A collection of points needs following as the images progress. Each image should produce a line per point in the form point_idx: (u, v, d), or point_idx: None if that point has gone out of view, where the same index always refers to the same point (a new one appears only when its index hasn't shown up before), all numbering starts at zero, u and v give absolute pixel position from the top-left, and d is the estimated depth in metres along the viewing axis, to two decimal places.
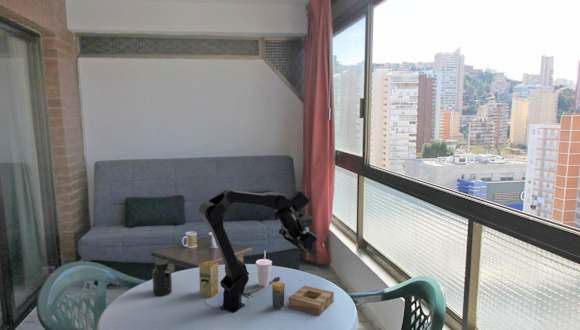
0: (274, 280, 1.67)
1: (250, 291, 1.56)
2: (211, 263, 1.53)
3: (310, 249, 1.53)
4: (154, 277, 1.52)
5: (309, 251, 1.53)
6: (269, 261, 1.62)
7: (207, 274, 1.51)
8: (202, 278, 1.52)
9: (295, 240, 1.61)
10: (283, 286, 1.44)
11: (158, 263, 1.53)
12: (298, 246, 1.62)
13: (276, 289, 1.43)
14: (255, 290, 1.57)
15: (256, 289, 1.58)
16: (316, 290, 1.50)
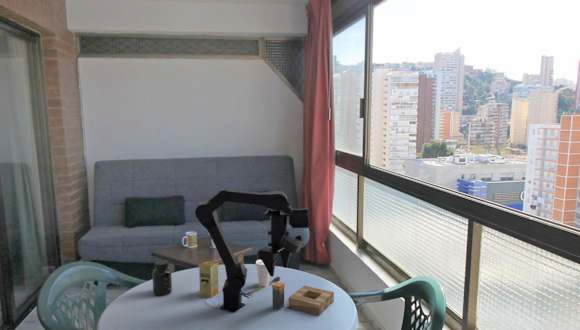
0: (274, 280, 1.67)
1: (250, 291, 1.56)
2: (211, 263, 1.53)
3: (269, 267, 1.38)
4: (154, 277, 1.52)
5: (267, 267, 1.38)
6: None
7: (207, 274, 1.51)
8: (202, 278, 1.52)
9: (285, 256, 1.47)
10: (283, 286, 1.44)
11: (158, 263, 1.53)
12: (284, 264, 1.47)
13: (276, 289, 1.43)
14: (255, 290, 1.57)
15: (256, 289, 1.58)
16: (316, 290, 1.50)
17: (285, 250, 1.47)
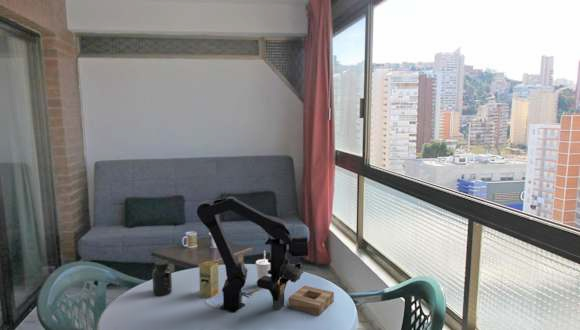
0: None
1: (251, 291, 1.57)
2: (211, 263, 1.53)
3: (273, 292, 1.42)
4: (154, 277, 1.52)
5: (271, 292, 1.42)
6: None
7: (208, 274, 1.51)
8: (202, 278, 1.52)
9: None
10: (283, 286, 1.44)
11: (158, 263, 1.53)
12: None
13: None
14: (255, 290, 1.58)
15: (256, 289, 1.58)
16: (316, 290, 1.50)
17: (281, 280, 1.46)
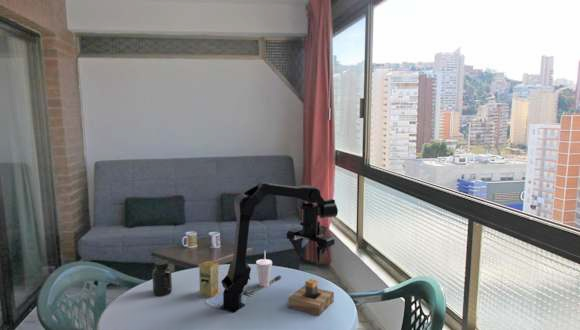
0: (275, 279, 1.68)
1: (252, 290, 1.57)
2: (211, 263, 1.53)
3: (321, 254, 1.51)
4: (154, 277, 1.52)
5: (320, 255, 1.50)
6: (269, 261, 1.63)
7: (207, 274, 1.51)
8: (202, 278, 1.52)
9: (299, 246, 1.57)
10: None
11: (158, 263, 1.53)
12: (299, 254, 1.57)
13: (315, 286, 1.46)
14: (257, 289, 1.58)
15: (258, 288, 1.59)
16: None
17: (299, 241, 1.57)
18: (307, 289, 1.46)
